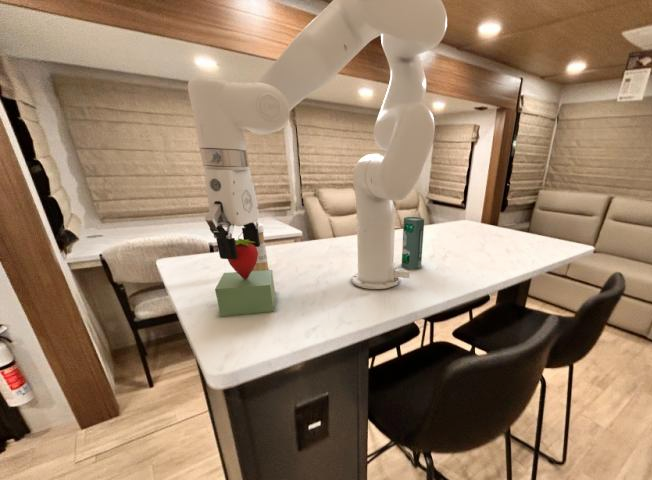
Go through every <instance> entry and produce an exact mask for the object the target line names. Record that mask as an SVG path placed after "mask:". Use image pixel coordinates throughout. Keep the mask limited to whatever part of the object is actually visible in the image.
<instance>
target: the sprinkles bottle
mask: <svg viewBox="0 0 652 480" xmlns="http://www.w3.org/2000/svg"><path fill="white" fill-rule="evenodd" d="M243 228H245V227H244V226H243ZM264 232H265V231H264V225H263V224H262V223H258V234H259V240H260V246H259V247H256V248H257V251H258V258H257V263H256V265H255V267H254V269H253V270H252V271H264V270H270V269H269V263H268V254H267V248H266V242H265V235H264Z"/></svg>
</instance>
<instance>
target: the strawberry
mask: <svg viewBox="0 0 652 480" xmlns="http://www.w3.org/2000/svg"><path fill="white" fill-rule="evenodd" d="M241 235H243V232H241V233H240V235H239V236H238V237H237V239H235V243H236V249H237V254H238V258H237V259H227V261H228V263H229V266H231V268H232V269H233V270H234V272H237V273H238V274H239V275H240V276H241V277H242V278H244V279H247V278H248V277H249V275H250V273H251V272H252V270H253V269H254V267H255V265H256V263H257V258H258V251H257V248H256V247H255V246H254V245H253V244H250V243H255V242H252V241H248V240H244V239H242V238H240V237H241Z"/></svg>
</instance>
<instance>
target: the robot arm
mask: <svg viewBox="0 0 652 480" xmlns="http://www.w3.org/2000/svg"><path fill="white" fill-rule="evenodd" d="M447 27H448V15H447V11H446V8H445V5H444V3H443V1H442V0H332V1H330V3H329V4H327V5H326V6H325V8H324V9H322V11H320V12H319V13H318V14H317V15H316V16H315V17H314V18H313V19H312V20H311V22H309V23H308V24H307V25H306V26H305V27H304V28H303V29H302V30H301V31H300V32H299V33H298V34H296V36H295V37H294V38H293V39H292V40H291V41H290V42H289V44H288V45H287V47H286V48H285V49H284V50H283V51H282V53H281V54H280V55H279V57H278V58H277V59H275V60H274V62H273V63H272V64H271V65H270V66H269V67H268V68H267V69H266V70H265V71H264V73H262V74H261V75H260V76H259V77H258V78H257V79H256V80H255V81H254V82H231V81H227V80H224V79H219V78H215V77H207V76H196V77H192V78H190V79H189V80H188V83H187V91H188V92H187V93H188V97H189V102H190V107H191V110H192V112H191V113H192V117H193V122H194V126H195V131H196V136H197V141H198V146H199V152H200V155H201V156H200V157H201V161H202V162H201V163H202V166H203V169H204V180H205V191H206V198H207V205H208V209H209V211H208V212H207V214H206V215H205V217H204V219H205V222H206V223H207V226H208V227H209V230H210V232H211V233H212V234H213V238H214V239H215V241H216V245H217V250H218V254H219V258H220V259H222V260H228V259H237V258H238V254H237V249H236V243H235V240H236V239H235V237H233V233H234V229H235V226H236V227H241V231H242V232H243V233H242V232H241V233H242V236H243V240H248V241H252V242H255V243H250V244H253V245H254V246H255V247H259V246H260V240H259V234H258V224H259V222H258V220H259V218H260V209H259V203H258V199H257V198H258V197H257V194H256V187H255V184H254V181H253V177H252V174H251V170H250V169H251V168H250V164H249V163H250V162H249V156H248V149H247V142H246V136H245V129H246V130H247V131H249V132H251V133H253V134H255V135H260V136H261V135H269V134H273V133H277V132H279V131H281V130H283V128H285V127H286V125H287V124H288V122H289V120H290V112H291V111H292V110H293V109H294V108H295V107H296V106H297V105H298V104H300V103H301V102H302V101H303V100H305V99H306V98H307V97H308V96H310V95H312V94H314V93H316V92H317V91H319V90H321V89H322V88H324V87H325V86H327V84H329V83H330V82H331V81H332V80H333V79H335V77H336V76H337V75H338V74H339V73H340V72H341V71H342V70H343V69H344V68H345V67H346V66H347V65H348V64H349V63H350V62H351V61H352V60H353V58H354V57H356V56H357V55H358V54H359V53H360V52H361V51H362V50H363V49H364V48H365V47H366V46H367V45H368V44H369V43H370V42H371V41H373V40H374V39H376V38H378V37H380V40H381V46H382V50H383V53H384V55H385V58H386V60H387V64H388V67H389V72H390V76H389V77H390V79H389V84H388V87H387V91H386V93H385V95H384V99H383V101H382V104H381V107H380V110H379V112H378V115H377V118H376V120H375V124H374V127H373V140H374V142H375V144H376V145H377V147H378V148H379V149H380V150H382V151H384V152H385V153H370V154H369V153H368V154H366V155H364V156H362V157H361V158H360V159H359V160H358V161H357V162H356V164H355V166H354V168H353V173H352V183H353V189H354V196H355V203H356V219H357V220H356V233H357V235H356V236H357V237H356V239H357V240H356V241H357V243H356V244H357V245H356V246H357V272H356V273H354V274H353V275H352V277H351V278H352V279H351V282H352V283H353V285H355V286H357V287H359V288H362V289H366V290H367V289H368V290H384V289H385V290H386V289H389V288H393V287H395V286H396V285H398V284H399V279H400V278H403V279H410V276H411V271H410V270H406V269H405V268H398V267H396V263H395V262H394V259H395V257H394V253H395V231H396V230H395V224H396V211H395V205H394V201H395V202H399V201H402V200H404V199H406V198H408V197H409V196H410V195H411V194H412V192H413V191H414V190H415V188H416V186H417V184H418V181H419V180H420V179H419V178H420V177H421V174H422V171H423V169H424V166H425V164H426V162H427V158H428V157H429V154H430V151H431V149H432V146H433V142H434V140H435V133H436V124H435V119H434V115H433V113H432V111H431V109H430V108H429V107H428V106H427V105H426V104H424V100H425V97H426V93H427V78H426V73H425V71H424V66H423V64H422V60H421V58H420V55H421V54H424V53H426V52H429V51H430V50H432V49H435V48H436V47H437V46H438V45H439V44H440V43H441V42H442V41H443V39H444V38H445V37H444V36H445V35H446V31H447ZM244 227H245V228H244ZM225 228H226V229H225Z"/></svg>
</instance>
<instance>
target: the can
mask: <svg viewBox="0 0 652 480" xmlns="http://www.w3.org/2000/svg"><path fill="white" fill-rule="evenodd" d="M402 226H403V227H402V228H403V229H402V247H401V248H402V250H401V267H402V269H405V270H412V271H415V270H420V269H421V268H422V261H423V260H422V259H423V244H424V231H425V218H423V217H418V216H405V217H403V224H402Z"/></svg>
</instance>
